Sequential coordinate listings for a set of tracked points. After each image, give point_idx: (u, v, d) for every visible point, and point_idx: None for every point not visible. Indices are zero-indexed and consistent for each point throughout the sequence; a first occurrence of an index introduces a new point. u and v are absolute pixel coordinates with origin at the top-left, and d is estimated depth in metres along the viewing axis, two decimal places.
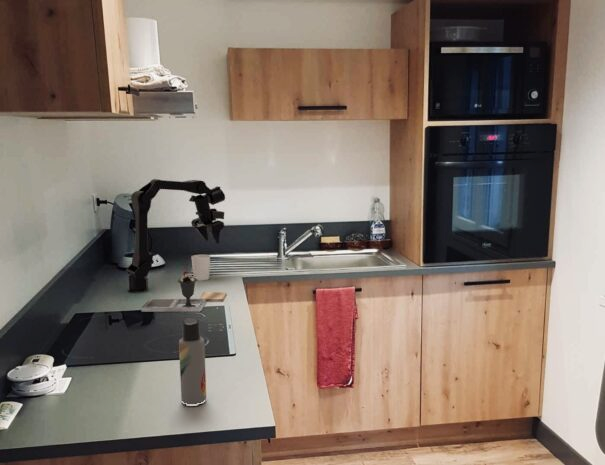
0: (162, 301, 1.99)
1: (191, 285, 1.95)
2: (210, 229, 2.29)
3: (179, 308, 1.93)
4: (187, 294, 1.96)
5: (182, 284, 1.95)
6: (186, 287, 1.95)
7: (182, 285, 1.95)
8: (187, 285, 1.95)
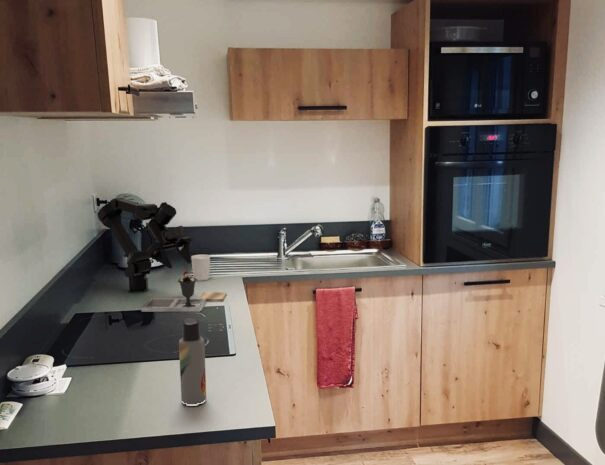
0: (162, 301, 1.99)
1: (191, 285, 1.95)
2: None
3: (179, 308, 1.93)
4: (187, 294, 1.96)
5: (182, 284, 1.95)
6: (186, 287, 1.95)
7: (182, 285, 1.95)
8: (187, 285, 1.95)
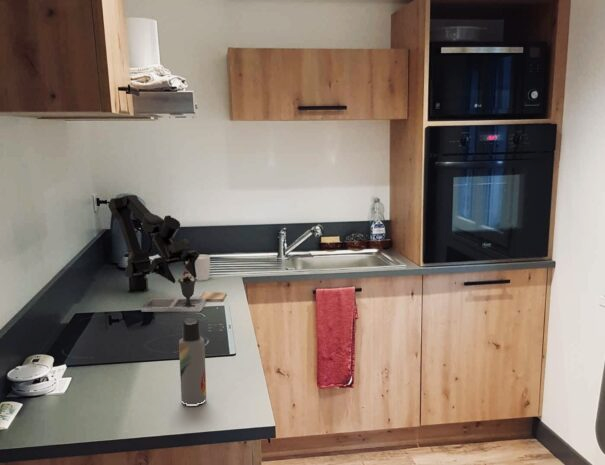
0: (162, 301, 1.99)
1: (191, 285, 1.95)
2: None
3: (179, 308, 1.93)
4: (187, 294, 1.96)
5: (182, 284, 1.95)
6: (186, 287, 1.95)
7: (182, 285, 1.95)
8: (187, 285, 1.95)
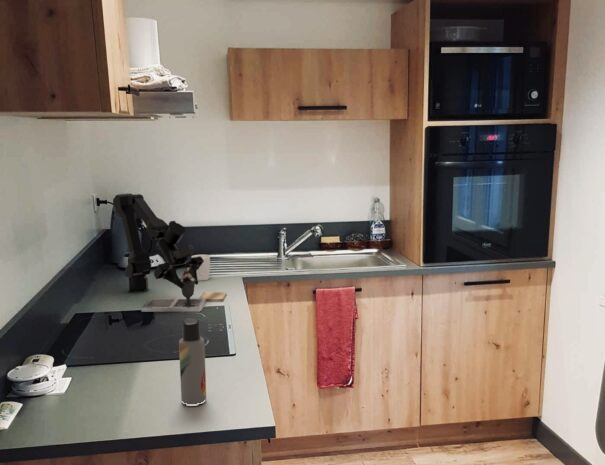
0: (162, 301, 1.99)
1: (191, 285, 1.95)
2: None
3: (179, 308, 1.93)
4: (187, 294, 1.96)
5: (182, 284, 1.95)
6: (186, 287, 1.95)
7: None
8: (187, 285, 1.94)
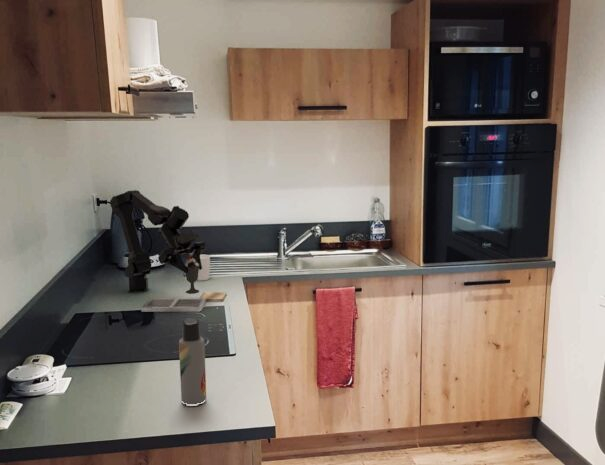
0: (162, 301, 1.99)
1: (196, 270, 1.96)
2: None
3: (179, 308, 1.93)
4: (191, 279, 1.96)
5: (187, 269, 1.95)
6: (191, 272, 1.95)
7: None
8: (192, 270, 1.95)
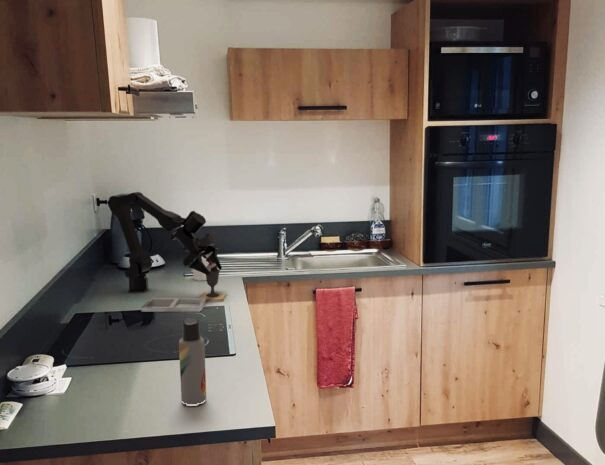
0: (162, 301, 1.99)
1: (217, 274, 2.07)
2: None
3: (179, 308, 1.93)
4: (214, 283, 2.07)
5: None
6: (213, 276, 2.06)
7: (209, 274, 2.05)
8: (214, 274, 2.06)
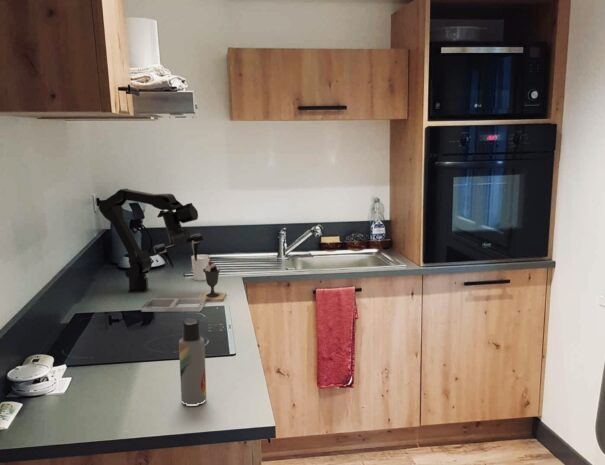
0: (162, 301, 1.99)
1: (217, 274, 2.07)
2: None
3: (179, 308, 1.93)
4: (213, 283, 2.07)
5: (209, 274, 2.05)
6: (213, 276, 2.06)
7: (209, 275, 2.05)
8: (214, 274, 2.06)
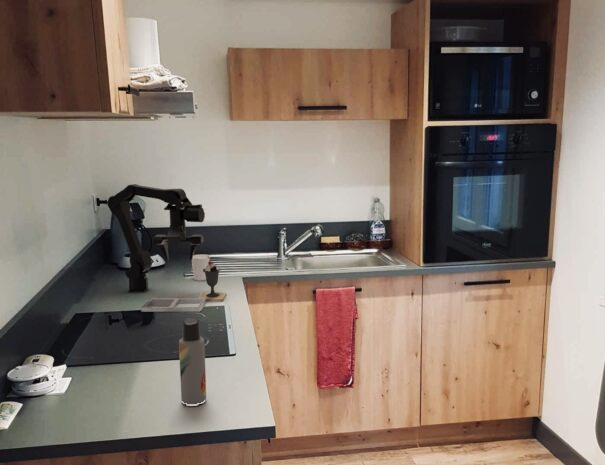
0: (162, 301, 1.99)
1: (217, 274, 2.07)
2: None
3: (179, 308, 1.93)
4: (213, 283, 2.07)
5: (209, 274, 2.05)
6: (213, 276, 2.06)
7: (209, 275, 2.05)
8: (214, 274, 2.06)
